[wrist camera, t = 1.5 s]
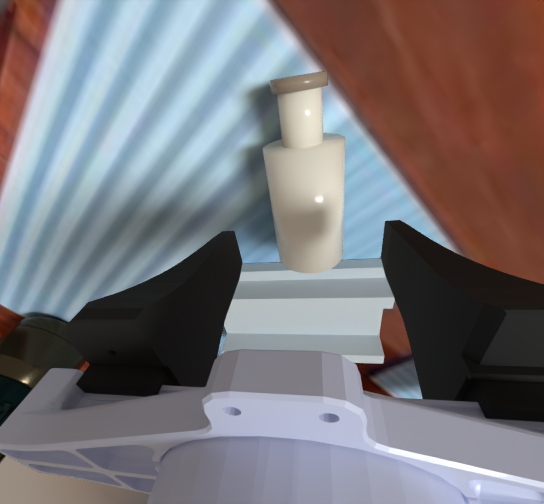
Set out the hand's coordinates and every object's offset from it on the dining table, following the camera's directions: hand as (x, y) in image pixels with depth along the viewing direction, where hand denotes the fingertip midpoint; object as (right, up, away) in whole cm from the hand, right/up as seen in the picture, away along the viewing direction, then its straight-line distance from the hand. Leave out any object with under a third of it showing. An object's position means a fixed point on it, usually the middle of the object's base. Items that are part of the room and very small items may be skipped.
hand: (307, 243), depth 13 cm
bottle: (+1, +6, +6) cm, 8 cm away
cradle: (+1, -6, +14) cm, 15 cm away
